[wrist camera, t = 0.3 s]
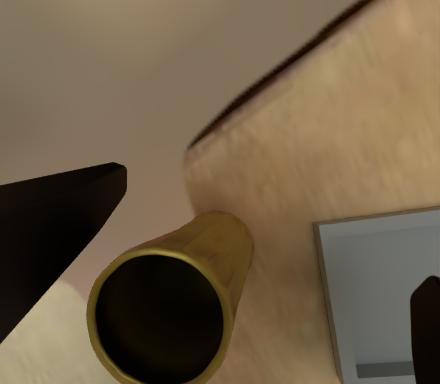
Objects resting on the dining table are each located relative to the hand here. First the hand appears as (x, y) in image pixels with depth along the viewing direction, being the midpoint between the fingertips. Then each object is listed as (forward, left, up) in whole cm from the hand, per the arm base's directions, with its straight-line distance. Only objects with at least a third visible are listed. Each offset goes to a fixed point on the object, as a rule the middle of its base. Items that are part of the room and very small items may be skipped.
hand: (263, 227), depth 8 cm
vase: (-3, +4, -16) cm, 16 cm away
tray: (-8, -10, -15) cm, 20 cm away
